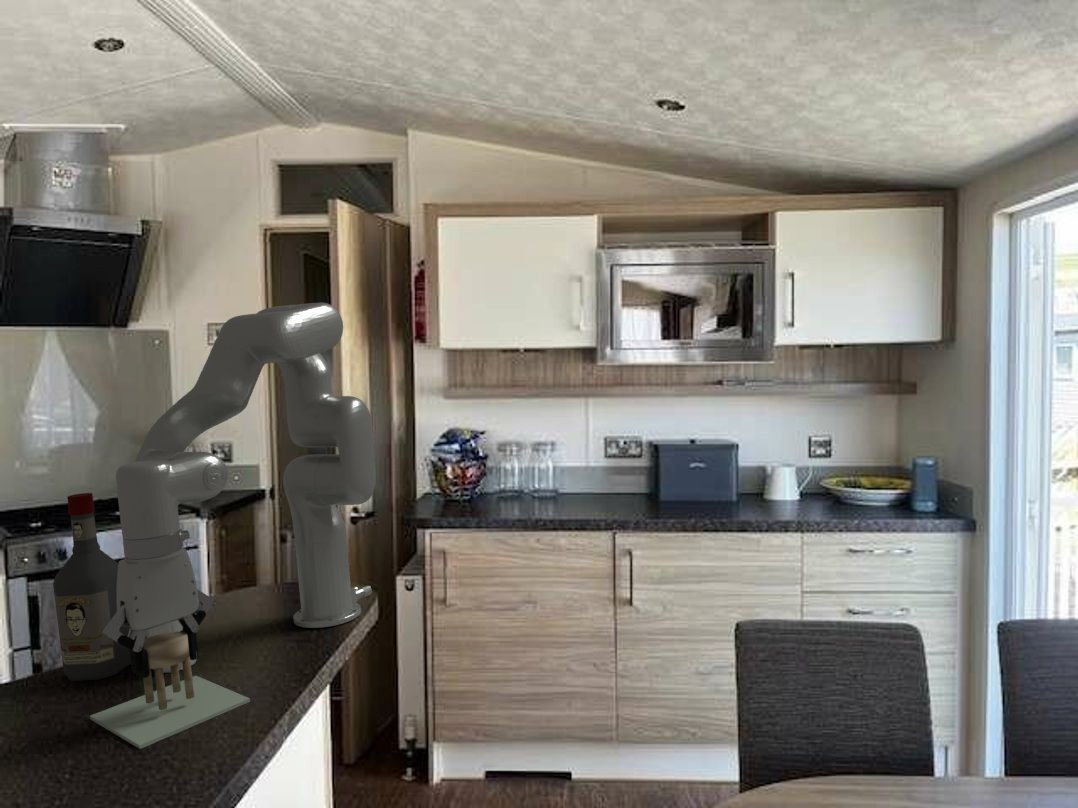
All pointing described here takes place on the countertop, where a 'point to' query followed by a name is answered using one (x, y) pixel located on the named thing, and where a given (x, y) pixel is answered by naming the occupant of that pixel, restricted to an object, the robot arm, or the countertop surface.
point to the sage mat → (168, 712)
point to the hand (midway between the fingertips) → (166, 665)
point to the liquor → (87, 601)
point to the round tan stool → (167, 665)
